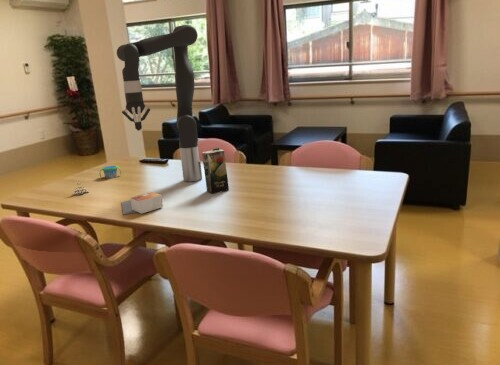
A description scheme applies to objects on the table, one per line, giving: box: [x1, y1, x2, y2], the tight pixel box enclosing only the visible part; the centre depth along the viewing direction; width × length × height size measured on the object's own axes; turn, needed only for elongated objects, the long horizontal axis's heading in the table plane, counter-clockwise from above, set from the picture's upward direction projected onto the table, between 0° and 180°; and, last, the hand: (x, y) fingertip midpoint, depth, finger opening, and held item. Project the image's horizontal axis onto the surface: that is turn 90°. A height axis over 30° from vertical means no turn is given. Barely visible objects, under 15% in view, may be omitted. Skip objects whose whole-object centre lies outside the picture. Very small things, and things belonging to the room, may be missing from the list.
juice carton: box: [201, 147, 230, 195], centre depth 189 cm, size 20×10×6 cm
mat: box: [121, 200, 139, 216], centre depth 178 cm, size 13×18×1 cm
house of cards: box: [72, 180, 87, 196], centre depth 198 cm, size 9×9×8 cm
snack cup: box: [99, 165, 122, 179], centre depth 226 cm, size 11×8×7 cm
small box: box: [130, 191, 164, 215], centre depth 171 cm, size 8×6×10 cm
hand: (138, 130), depth 185 cm, fingers closed
